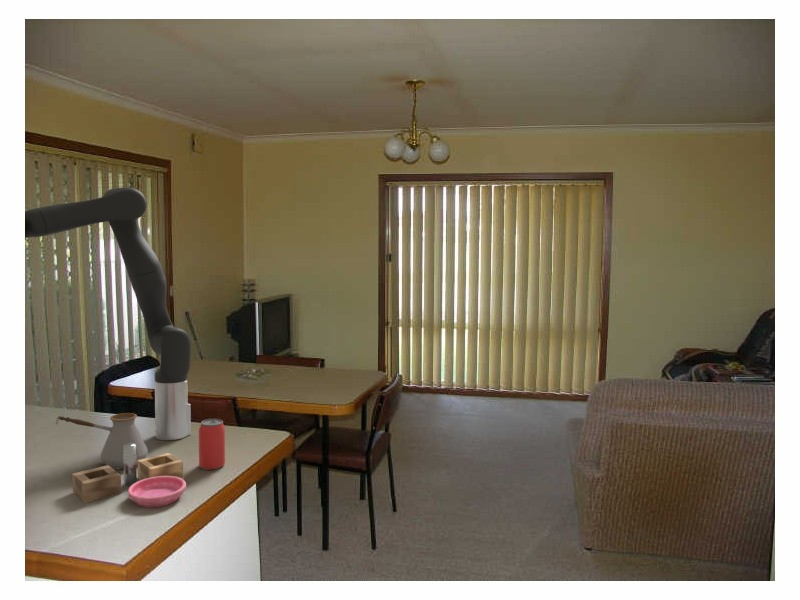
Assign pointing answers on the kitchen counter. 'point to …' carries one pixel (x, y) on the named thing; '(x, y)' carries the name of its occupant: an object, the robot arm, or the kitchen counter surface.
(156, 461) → the oak block
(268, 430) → the kitchen counter surface
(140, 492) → the saucer
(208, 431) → the beer can
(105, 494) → the walnut block
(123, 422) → the coffee pot
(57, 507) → the kitchen counter surface
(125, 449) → the pin
